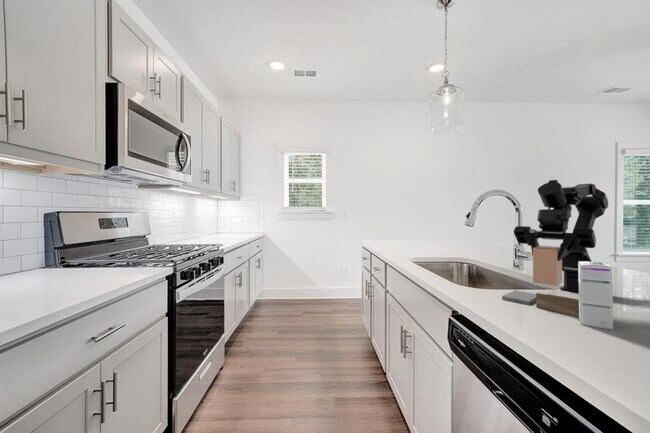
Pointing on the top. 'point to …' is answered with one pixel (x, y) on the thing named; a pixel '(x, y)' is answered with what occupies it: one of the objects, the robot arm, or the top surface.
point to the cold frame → (558, 303)
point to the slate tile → (520, 297)
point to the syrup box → (595, 294)
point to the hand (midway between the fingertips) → (545, 258)
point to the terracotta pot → (547, 265)
